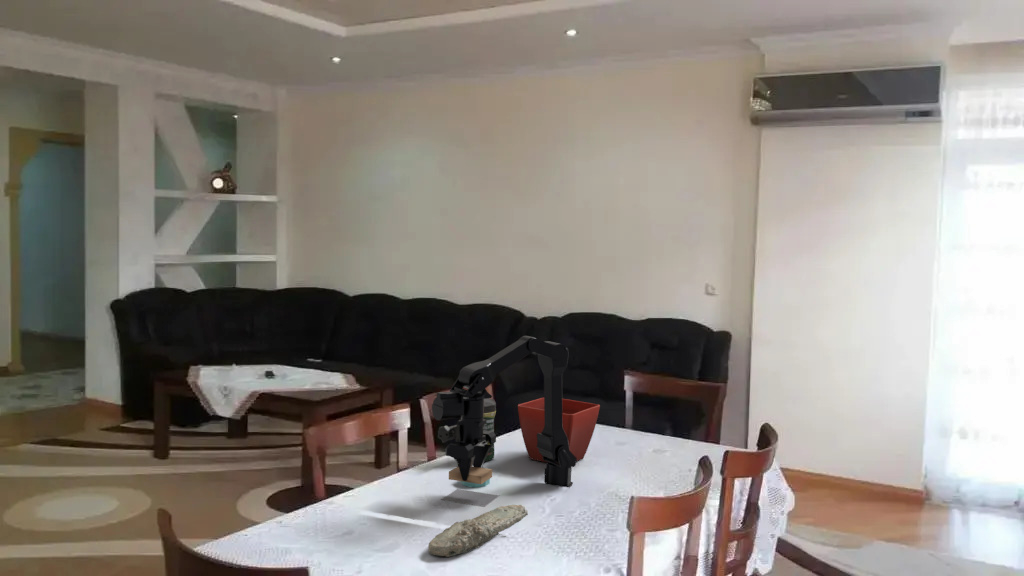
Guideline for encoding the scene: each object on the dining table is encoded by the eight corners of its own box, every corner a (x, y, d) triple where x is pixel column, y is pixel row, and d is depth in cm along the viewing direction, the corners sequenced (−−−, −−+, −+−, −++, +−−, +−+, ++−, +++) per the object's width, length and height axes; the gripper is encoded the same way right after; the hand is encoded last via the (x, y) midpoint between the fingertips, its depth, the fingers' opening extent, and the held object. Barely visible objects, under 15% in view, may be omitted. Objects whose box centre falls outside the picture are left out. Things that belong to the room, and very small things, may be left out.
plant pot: (599, 457, 264) (601, 404, 263) (569, 471, 248) (571, 414, 247) (545, 447, 274) (547, 395, 273) (514, 460, 258) (516, 405, 257)
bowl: (492, 484, 233) (493, 470, 232) (482, 492, 226) (482, 477, 226) (468, 481, 235) (469, 466, 235) (457, 488, 229) (457, 473, 228)
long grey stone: (538, 524, 207) (503, 518, 212) (538, 503, 207) (503, 497, 212) (454, 563, 177) (416, 554, 182) (455, 537, 177) (417, 530, 182)
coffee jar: (476, 465, 251) (478, 403, 250) (457, 459, 257) (459, 398, 255) (499, 459, 258) (501, 398, 257) (480, 454, 264) (482, 394, 262)
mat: (499, 499, 220) (499, 495, 220) (484, 510, 211) (484, 506, 211) (457, 492, 225) (457, 488, 225) (440, 503, 216) (440, 499, 215)
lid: (492, 476, 219) (492, 469, 219) (481, 484, 213) (481, 476, 212) (460, 472, 222) (460, 464, 222) (448, 479, 216) (448, 471, 216)
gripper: (459, 406, 228) (457, 463, 229) (427, 420, 211) (425, 482, 212) (497, 410, 224) (495, 469, 225) (468, 425, 207) (466, 488, 208)
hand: (470, 476), depth 217 cm, fingers closed on lid, 7 cm apart
